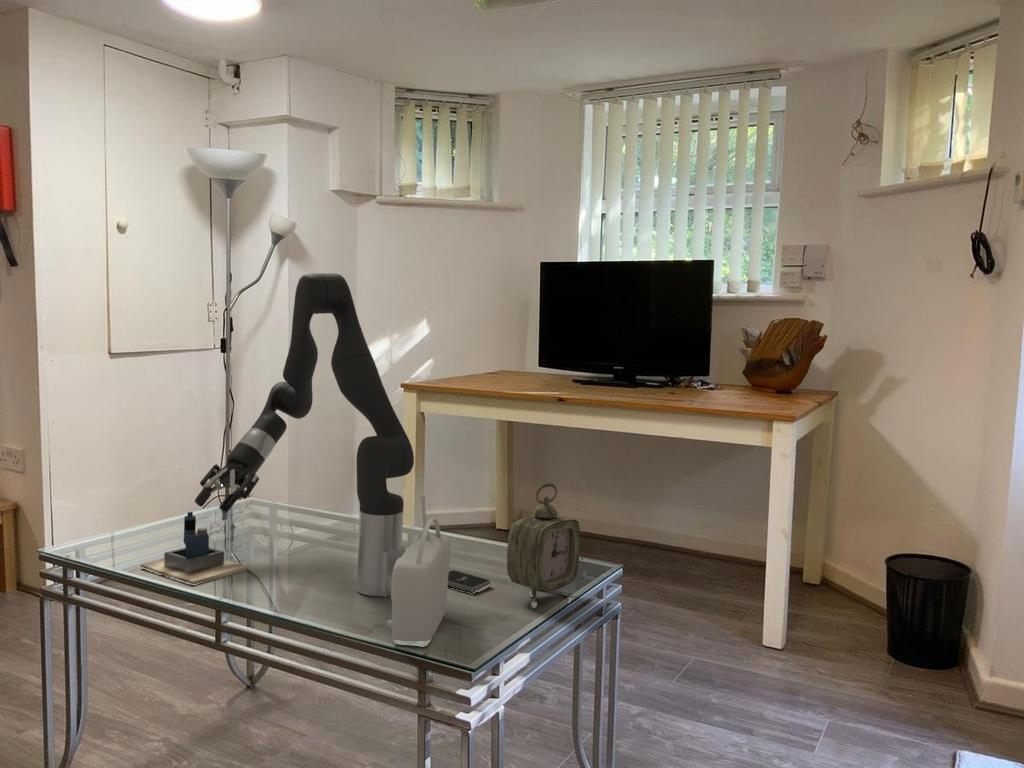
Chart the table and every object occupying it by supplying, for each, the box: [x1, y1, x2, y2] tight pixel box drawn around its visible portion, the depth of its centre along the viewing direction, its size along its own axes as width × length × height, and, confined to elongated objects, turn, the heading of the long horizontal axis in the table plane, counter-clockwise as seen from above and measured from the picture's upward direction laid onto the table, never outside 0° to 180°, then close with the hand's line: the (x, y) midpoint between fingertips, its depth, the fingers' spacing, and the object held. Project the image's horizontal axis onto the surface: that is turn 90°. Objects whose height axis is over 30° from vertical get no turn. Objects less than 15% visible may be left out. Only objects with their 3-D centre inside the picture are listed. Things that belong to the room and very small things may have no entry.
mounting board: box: [140, 558, 248, 584], centre depth 177 cm, size 18×14×1 cm
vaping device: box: [183, 511, 210, 558], centre depth 177 cm, size 3×5×12 cm, turn 113°
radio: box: [386, 493, 451, 641], centre depth 148 cm, size 22×8×25 cm, turn 175°
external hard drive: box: [448, 569, 491, 593], centre depth 175 cm, size 7×11×2 cm, turn 55°
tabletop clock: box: [506, 482, 581, 600], centre depth 168 cm, size 14×9×25 cm, turn 139°
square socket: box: [163, 546, 225, 574], centre depth 177 cm, size 9×9×3 cm
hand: (210, 507), depth 179 cm, fingers open, 8 cm apart
